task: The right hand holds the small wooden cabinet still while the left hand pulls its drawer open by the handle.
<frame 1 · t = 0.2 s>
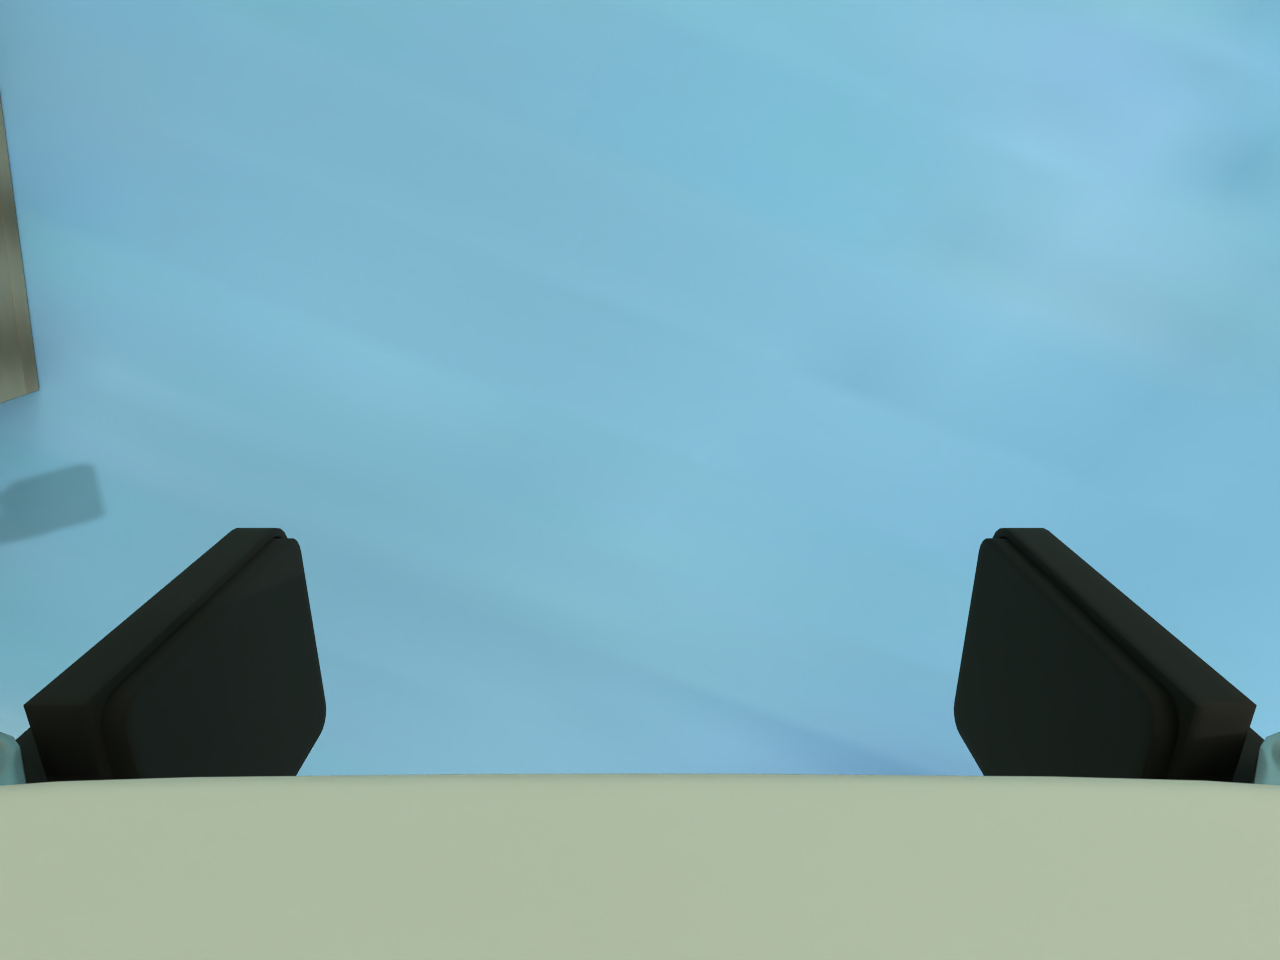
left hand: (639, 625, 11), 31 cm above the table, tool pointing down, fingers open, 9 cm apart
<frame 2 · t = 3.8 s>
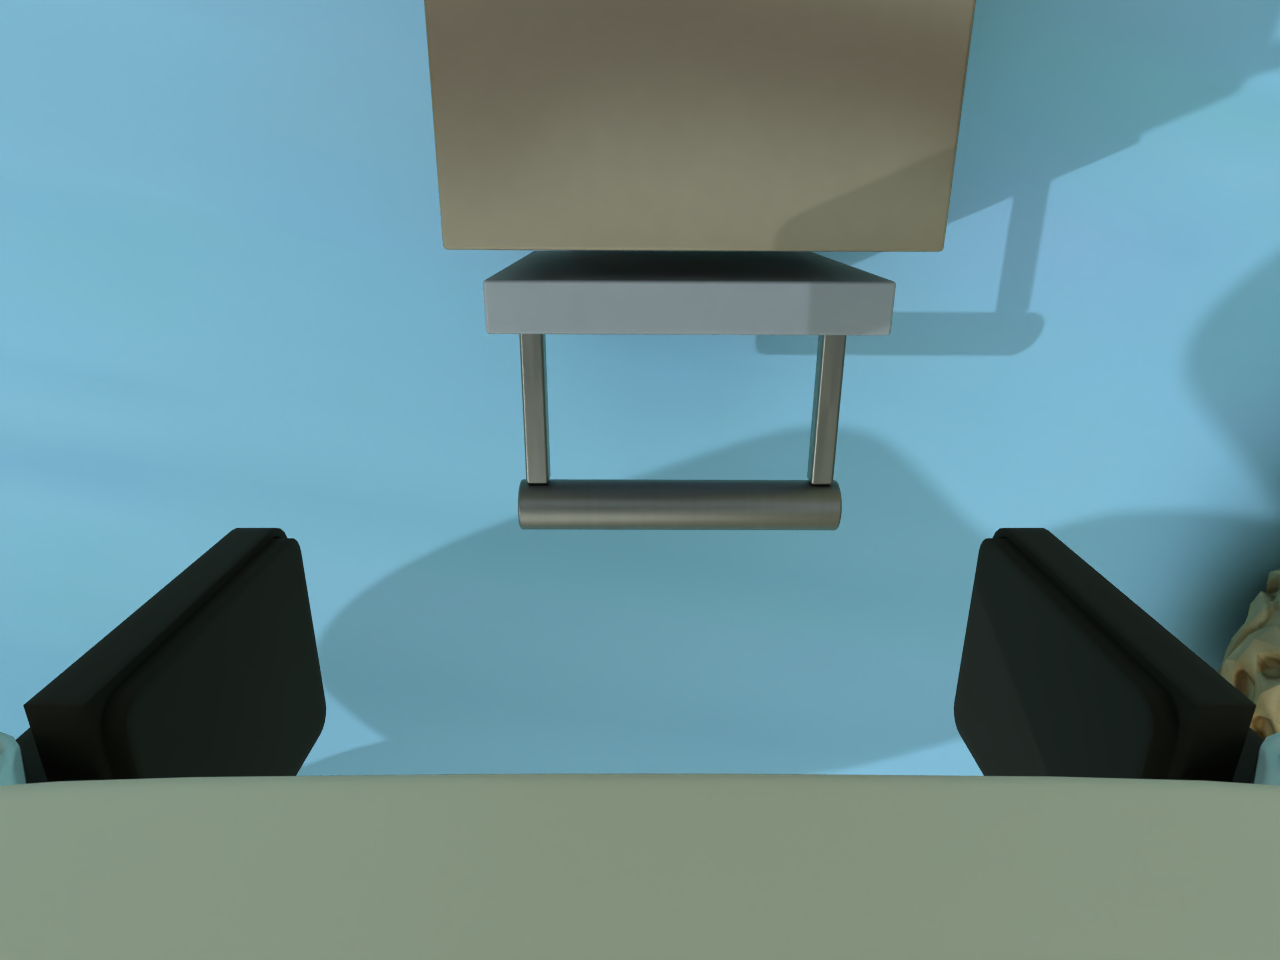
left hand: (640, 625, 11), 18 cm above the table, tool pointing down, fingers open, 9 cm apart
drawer: (684, 62, 20), point 5 cm above the table, slide at 0.7 cm
teapot: (1279, 653, 32), on the table
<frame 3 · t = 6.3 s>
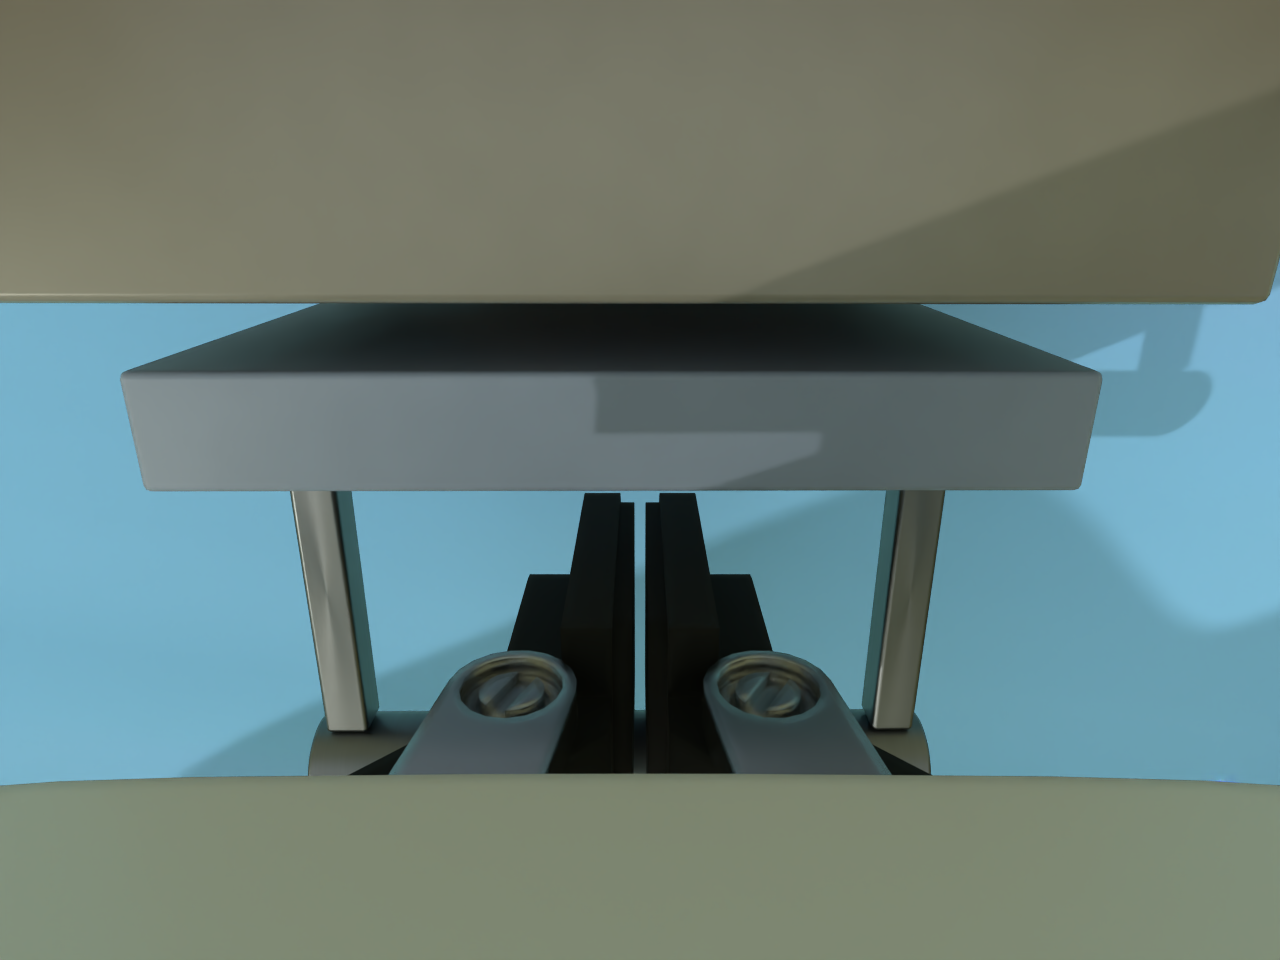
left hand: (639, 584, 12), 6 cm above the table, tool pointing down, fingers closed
when the right hand's fingers open (6 cm above the table, at t = 9.5 s): cabinet stays where it is, on the table.
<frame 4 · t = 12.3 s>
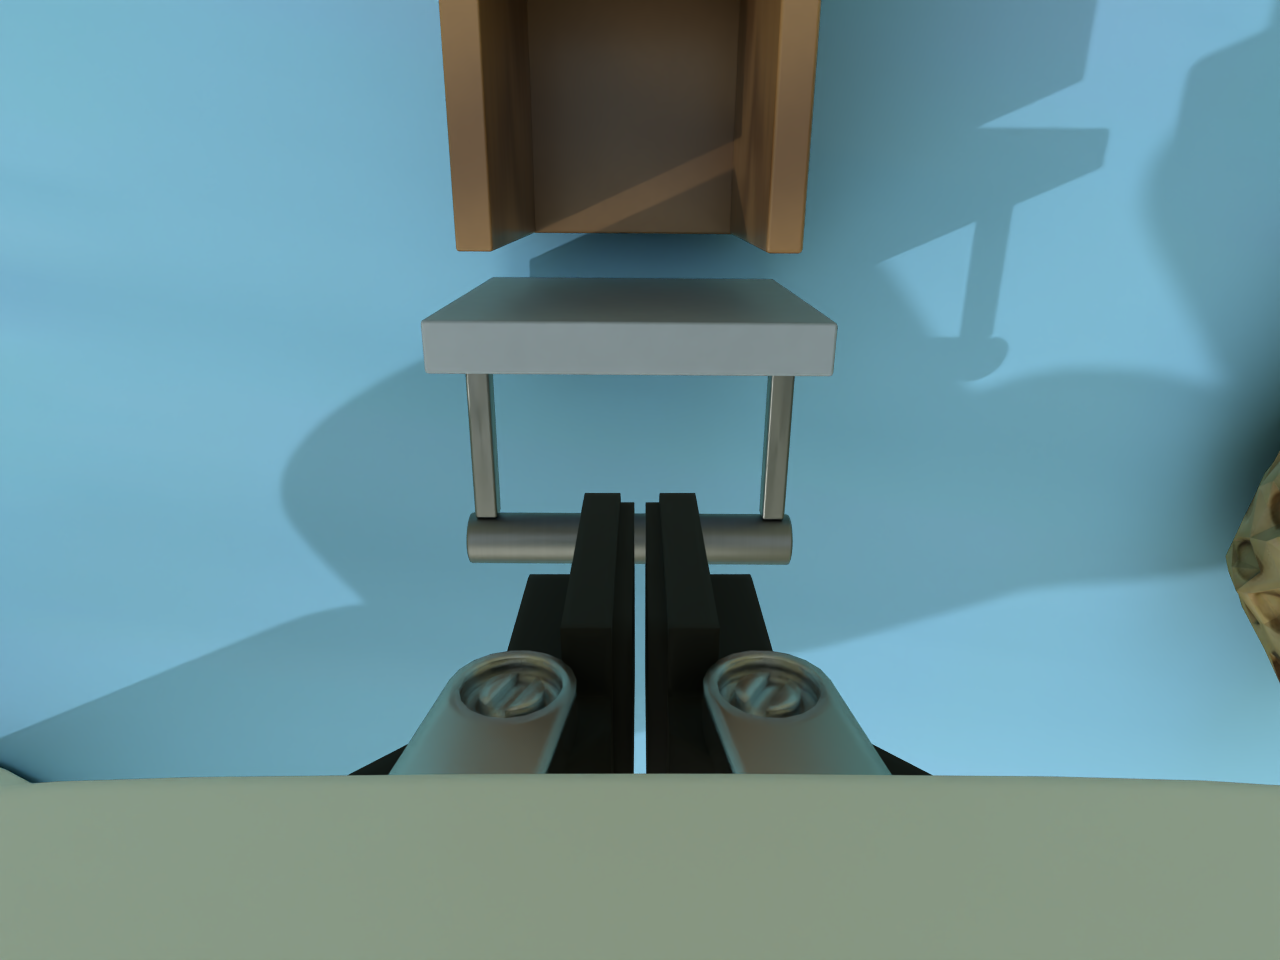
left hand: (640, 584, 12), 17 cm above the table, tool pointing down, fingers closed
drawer: (631, 95, 20), point 5 cm above the table, slide at 7.8 cm
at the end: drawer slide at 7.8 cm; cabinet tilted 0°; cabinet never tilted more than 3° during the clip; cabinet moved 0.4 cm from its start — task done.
